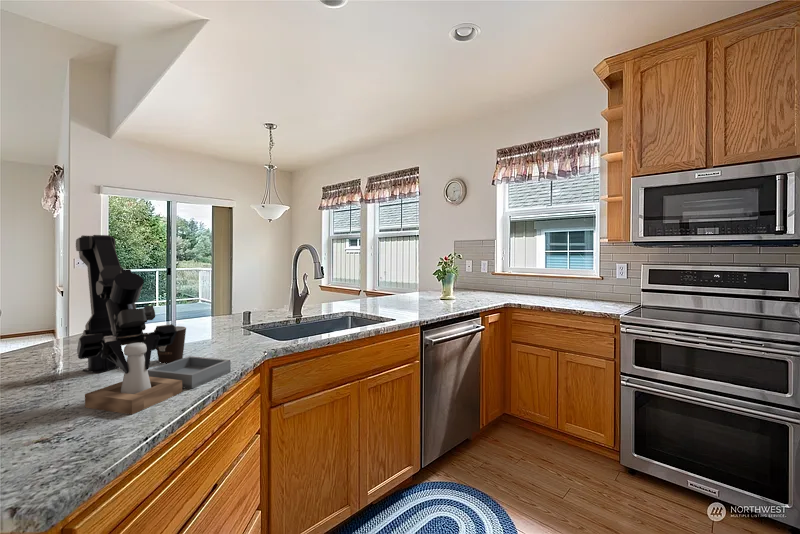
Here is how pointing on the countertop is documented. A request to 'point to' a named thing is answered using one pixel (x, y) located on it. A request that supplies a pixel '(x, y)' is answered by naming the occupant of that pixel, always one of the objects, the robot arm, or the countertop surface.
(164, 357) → the coffee mug
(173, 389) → the socket block
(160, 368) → the tray
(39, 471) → the countertop surface
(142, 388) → the salt shaker
